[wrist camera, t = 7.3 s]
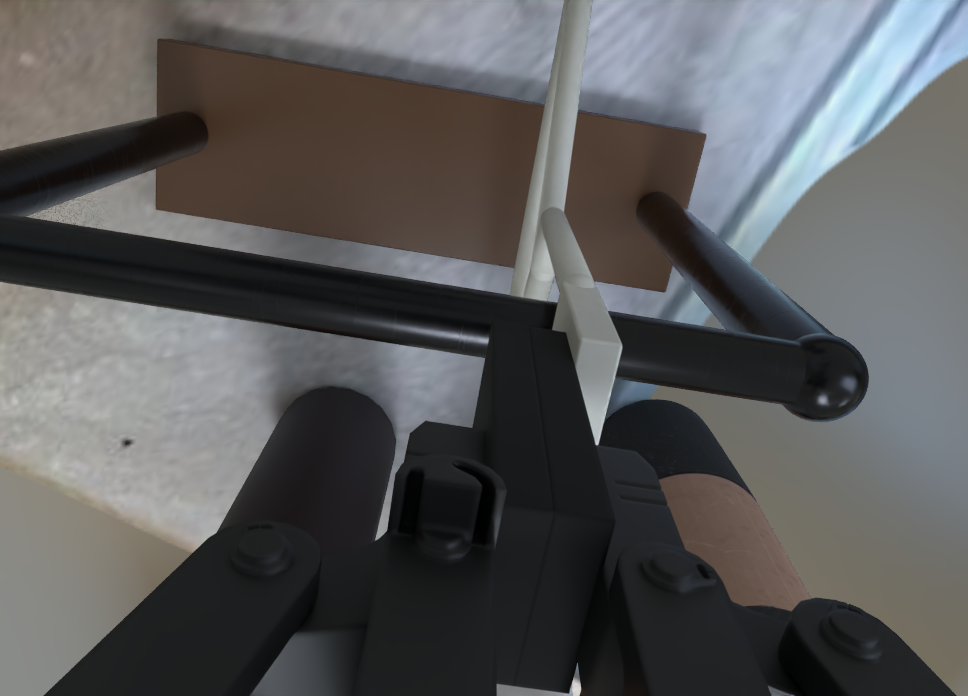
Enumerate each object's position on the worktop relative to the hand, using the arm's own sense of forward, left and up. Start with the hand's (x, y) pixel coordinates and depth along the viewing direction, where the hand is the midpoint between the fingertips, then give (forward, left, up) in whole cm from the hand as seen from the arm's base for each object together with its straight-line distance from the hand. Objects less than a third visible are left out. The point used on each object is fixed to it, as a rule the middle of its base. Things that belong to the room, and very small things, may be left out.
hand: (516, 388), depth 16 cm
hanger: (0, +1, -16) cm, 16 cm away
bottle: (+16, -7, -26) cm, 31 cm away
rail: (0, -4, -26) cm, 26 cm away
